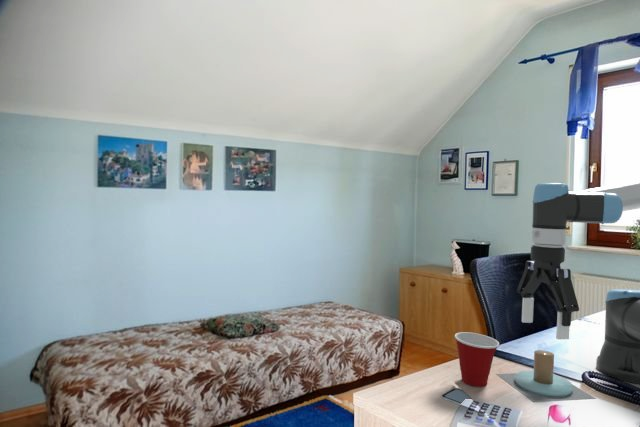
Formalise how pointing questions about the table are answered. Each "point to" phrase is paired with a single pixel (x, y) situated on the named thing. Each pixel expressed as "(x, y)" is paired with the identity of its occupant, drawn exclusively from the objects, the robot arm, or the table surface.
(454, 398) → the smartphone
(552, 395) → the lid
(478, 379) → the plastic cup
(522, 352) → the table surface
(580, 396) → the mat
